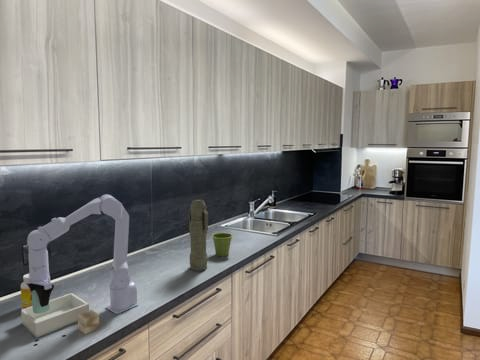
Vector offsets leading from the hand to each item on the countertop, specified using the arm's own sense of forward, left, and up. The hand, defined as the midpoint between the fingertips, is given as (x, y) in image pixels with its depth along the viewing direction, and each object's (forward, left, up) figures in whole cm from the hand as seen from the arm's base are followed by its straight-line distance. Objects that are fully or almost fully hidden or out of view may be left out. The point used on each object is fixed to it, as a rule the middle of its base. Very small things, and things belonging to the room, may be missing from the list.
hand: (41, 303), depth 118 cm
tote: (-5, 0, -8) cm, 9 cm away
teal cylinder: (0, 0, -2) cm, 2 cm away
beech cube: (-10, +14, -8) cm, 19 cm away
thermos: (-73, +2, -8) cm, 73 cm away
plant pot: (-96, -3, -8) cm, 96 cm away
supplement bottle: (-3, -17, -8) cm, 19 cm away
